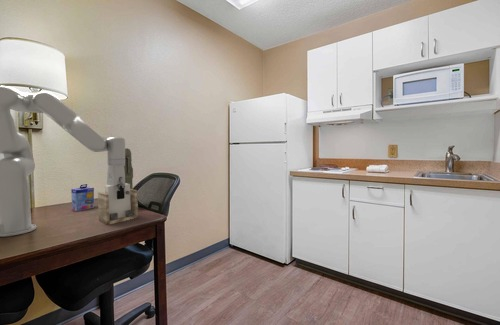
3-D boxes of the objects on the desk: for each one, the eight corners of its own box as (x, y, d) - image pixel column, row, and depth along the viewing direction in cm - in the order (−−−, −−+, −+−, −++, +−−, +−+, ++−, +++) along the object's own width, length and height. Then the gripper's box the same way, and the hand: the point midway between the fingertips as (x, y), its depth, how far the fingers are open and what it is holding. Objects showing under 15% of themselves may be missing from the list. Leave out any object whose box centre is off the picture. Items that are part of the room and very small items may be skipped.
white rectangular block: (110, 220, 112) (108, 186, 111) (106, 218, 115) (104, 185, 114) (131, 215, 119) (130, 184, 118) (127, 213, 123) (126, 183, 122)
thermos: (126, 204, 149) (124, 148, 146) (139, 206, 143) (137, 148, 141) (112, 207, 141) (110, 148, 139) (125, 209, 135) (123, 148, 133)
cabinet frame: (106, 225, 109) (105, 194, 108) (99, 220, 115) (97, 192, 114) (138, 217, 120) (137, 190, 119) (129, 214, 126) (128, 188, 125)
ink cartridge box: (77, 211, 132) (75, 185, 131) (71, 210, 134) (70, 185, 133) (95, 207, 141) (94, 183, 140) (89, 206, 143) (88, 182, 142)
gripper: (101, 161, 118) (101, 195, 119) (115, 163, 107) (115, 201, 108) (117, 161, 124) (117, 193, 125) (132, 163, 113) (132, 198, 114)
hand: (116, 197), depth 117 cm, fingers open, 9 cm apart
